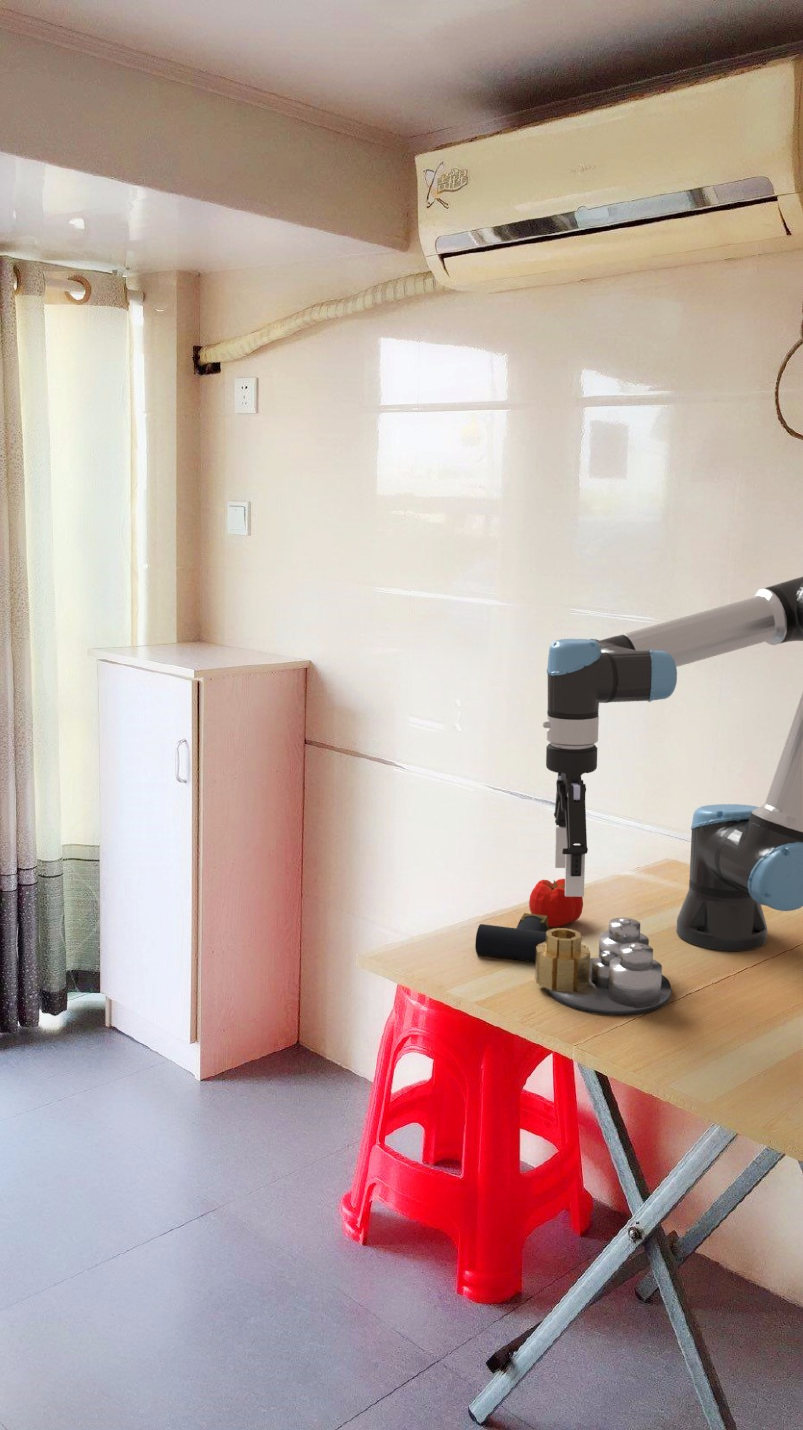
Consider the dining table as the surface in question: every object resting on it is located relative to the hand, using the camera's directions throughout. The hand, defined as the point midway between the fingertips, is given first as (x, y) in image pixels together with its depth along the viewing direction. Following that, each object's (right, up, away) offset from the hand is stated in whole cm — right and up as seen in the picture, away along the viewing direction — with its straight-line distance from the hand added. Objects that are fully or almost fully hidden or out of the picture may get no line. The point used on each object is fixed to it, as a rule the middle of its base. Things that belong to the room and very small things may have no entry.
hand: (568, 881), depth 176 cm
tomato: (+2, -12, +31) cm, 33 cm away
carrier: (+6, -17, +2) cm, 18 cm away
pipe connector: (-4, -15, +18) cm, 23 cm away
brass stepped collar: (-1, -16, +2) cm, 16 cm away
